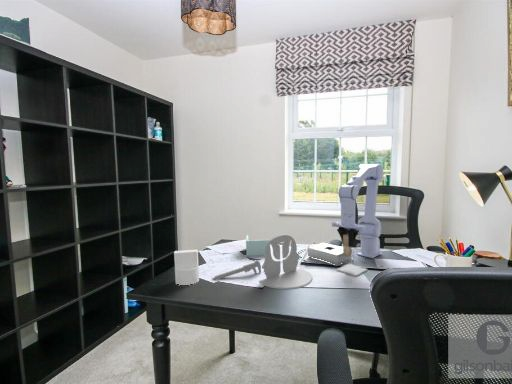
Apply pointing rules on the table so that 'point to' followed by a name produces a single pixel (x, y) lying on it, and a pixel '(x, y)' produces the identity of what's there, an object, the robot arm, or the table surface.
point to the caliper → (241, 270)
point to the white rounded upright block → (186, 267)
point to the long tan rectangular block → (346, 246)
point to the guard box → (328, 253)
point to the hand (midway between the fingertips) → (347, 245)
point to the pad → (352, 270)
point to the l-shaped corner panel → (256, 246)
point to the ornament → (284, 266)
